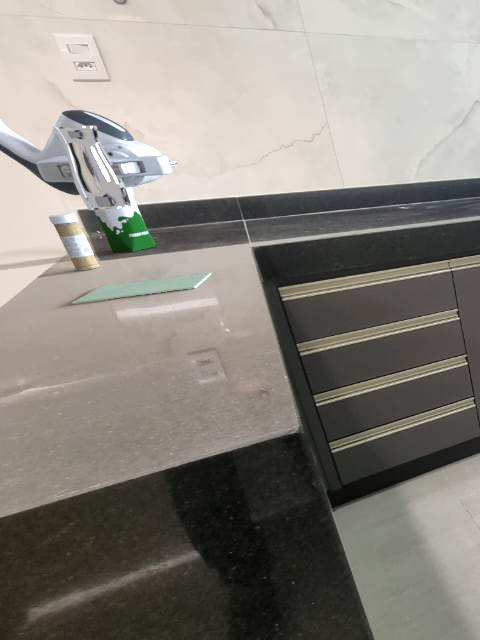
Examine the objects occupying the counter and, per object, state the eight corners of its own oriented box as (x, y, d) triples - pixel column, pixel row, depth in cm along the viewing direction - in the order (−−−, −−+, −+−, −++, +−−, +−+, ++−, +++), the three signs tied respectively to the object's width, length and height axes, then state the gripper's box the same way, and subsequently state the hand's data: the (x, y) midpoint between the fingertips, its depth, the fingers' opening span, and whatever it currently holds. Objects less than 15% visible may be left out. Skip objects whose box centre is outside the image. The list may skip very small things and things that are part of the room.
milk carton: (137, 245, 159) (106, 176, 150) (162, 245, 157) (132, 175, 149) (106, 252, 151) (71, 179, 142) (132, 252, 149) (99, 178, 141)
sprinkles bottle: (89, 266, 136) (63, 213, 130) (105, 266, 135) (79, 212, 129) (70, 271, 131) (42, 216, 126) (86, 271, 131) (59, 215, 125)
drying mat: (73, 304, 105) (72, 302, 104) (102, 287, 115) (101, 286, 115) (195, 288, 112) (194, 286, 111) (211, 274, 122) (210, 272, 122)
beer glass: (42, 126, 98) (80, 209, 105) (56, 126, 95) (94, 211, 102) (91, 125, 104) (124, 203, 110) (105, 125, 101) (139, 205, 107)
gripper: (185, 177, 119) (165, 183, 108) (68, 184, 112) (32, 191, 100) (174, 147, 117) (152, 150, 105) (53, 152, 109) (14, 156, 98)
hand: (92, 170), depth 103 cm, fingers closed on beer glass, 6 cm apart
